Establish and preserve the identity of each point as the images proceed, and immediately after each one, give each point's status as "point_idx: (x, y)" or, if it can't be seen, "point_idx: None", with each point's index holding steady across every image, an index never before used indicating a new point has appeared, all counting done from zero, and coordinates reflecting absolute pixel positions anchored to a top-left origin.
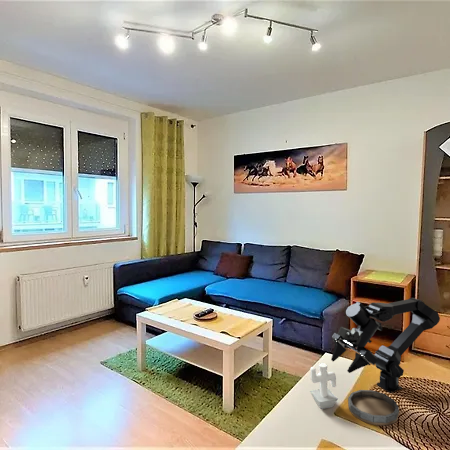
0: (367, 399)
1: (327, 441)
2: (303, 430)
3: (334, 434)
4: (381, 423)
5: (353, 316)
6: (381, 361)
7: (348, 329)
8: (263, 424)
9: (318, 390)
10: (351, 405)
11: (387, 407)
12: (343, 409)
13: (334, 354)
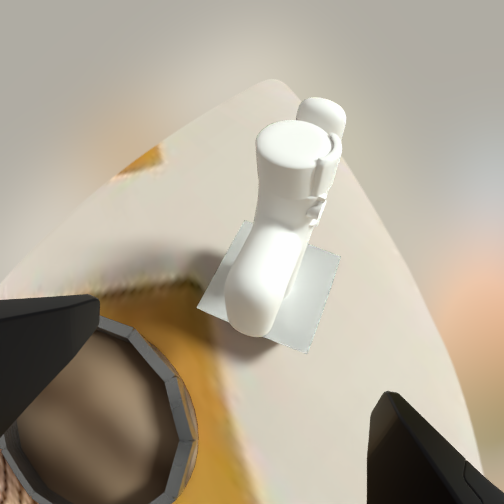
0: (136, 477)
1: (144, 166)
2: (220, 152)
3: (140, 197)
4: None
5: None
6: None
7: None
8: None
9: (319, 293)
10: (130, 327)
11: (52, 466)
12: (184, 338)
13: (411, 436)
